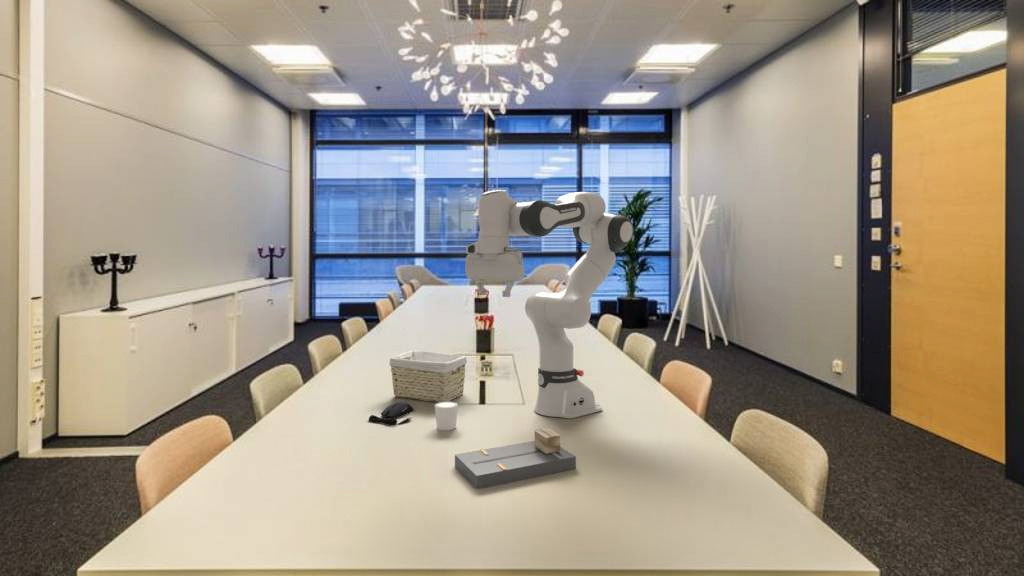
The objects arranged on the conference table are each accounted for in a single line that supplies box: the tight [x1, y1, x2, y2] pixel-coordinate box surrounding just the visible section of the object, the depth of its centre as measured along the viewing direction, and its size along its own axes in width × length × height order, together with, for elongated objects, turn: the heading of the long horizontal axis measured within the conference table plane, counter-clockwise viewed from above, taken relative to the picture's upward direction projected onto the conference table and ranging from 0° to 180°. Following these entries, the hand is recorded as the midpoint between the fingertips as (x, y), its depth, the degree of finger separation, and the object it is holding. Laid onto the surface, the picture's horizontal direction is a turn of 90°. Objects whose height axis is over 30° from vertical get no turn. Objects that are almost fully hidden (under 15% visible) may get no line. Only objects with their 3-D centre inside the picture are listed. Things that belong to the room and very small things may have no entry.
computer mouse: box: [368, 401, 414, 426], centre depth 175 cm, size 12×18×4 cm
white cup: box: [434, 401, 459, 431], centre depth 164 cm, size 7×7×7 cm
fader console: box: [454, 440, 577, 490], centre depth 135 cm, size 26×14×3 cm, turn 116°
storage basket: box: [389, 349, 467, 403], centre depth 199 cm, size 24×16×15 cm
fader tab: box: [533, 428, 561, 454], centre depth 138 cm, size 4×6×4 cm, turn 26°
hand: (494, 295), depth 158 cm, fingers open, 8 cm apart
